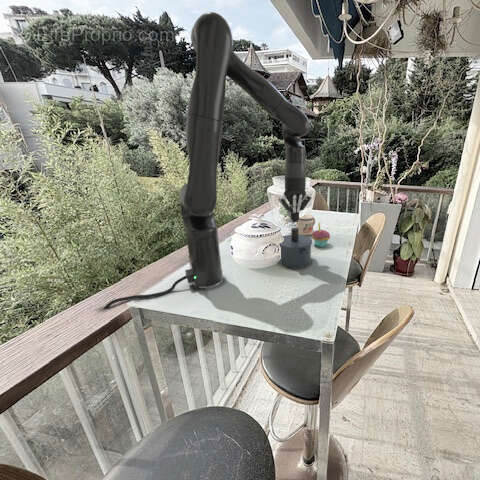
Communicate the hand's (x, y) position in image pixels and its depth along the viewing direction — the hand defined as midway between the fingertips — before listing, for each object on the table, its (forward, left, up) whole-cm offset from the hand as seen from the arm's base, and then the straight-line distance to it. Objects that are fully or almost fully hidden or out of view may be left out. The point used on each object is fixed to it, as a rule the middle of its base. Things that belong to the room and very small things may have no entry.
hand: (294, 221), depth 101 cm
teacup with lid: (+22, +28, -17) cm, 40 cm away
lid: (0, 0, -8) cm, 8 cm away
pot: (0, 0, -17) cm, 17 cm away
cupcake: (+19, +10, -17) cm, 27 cm away
